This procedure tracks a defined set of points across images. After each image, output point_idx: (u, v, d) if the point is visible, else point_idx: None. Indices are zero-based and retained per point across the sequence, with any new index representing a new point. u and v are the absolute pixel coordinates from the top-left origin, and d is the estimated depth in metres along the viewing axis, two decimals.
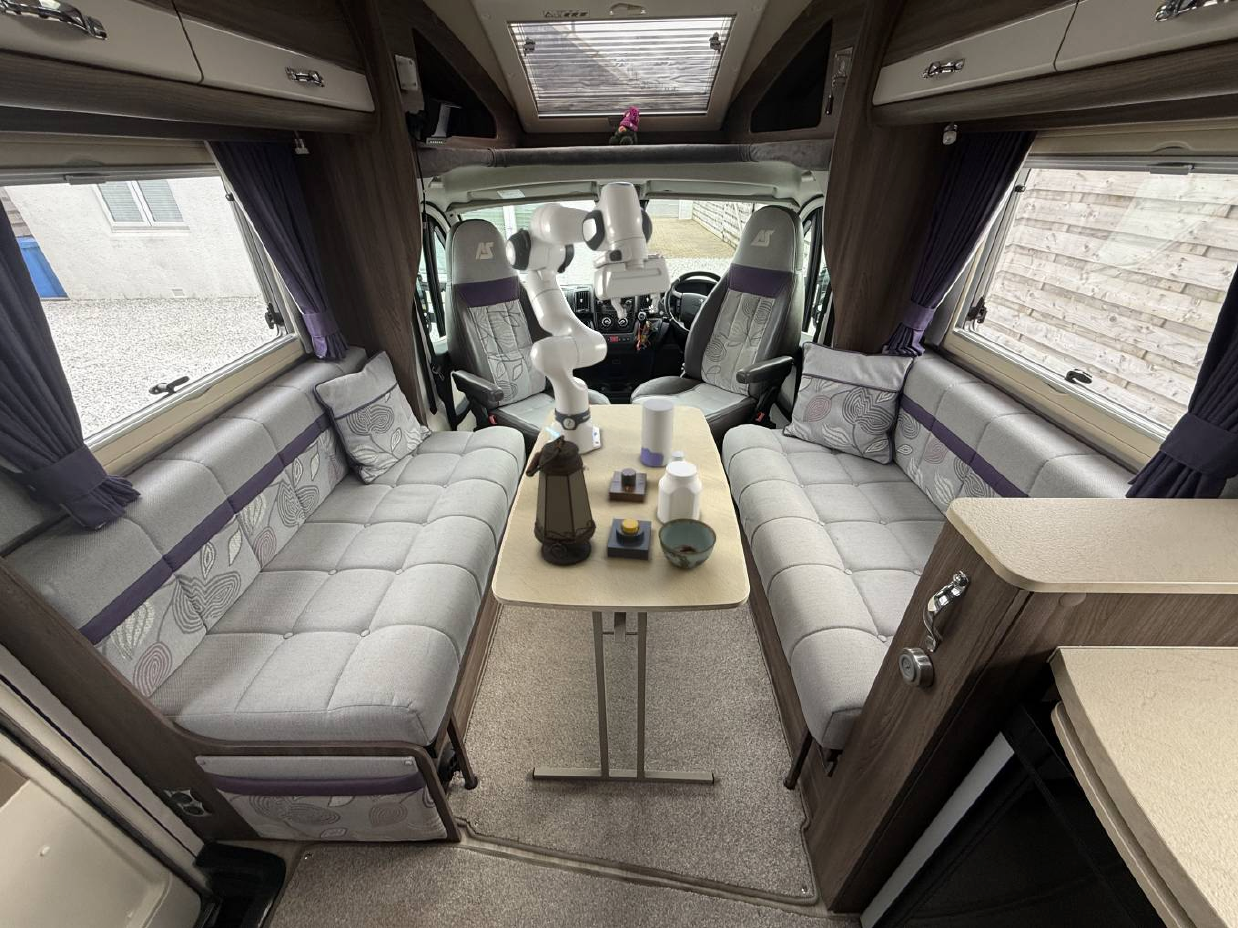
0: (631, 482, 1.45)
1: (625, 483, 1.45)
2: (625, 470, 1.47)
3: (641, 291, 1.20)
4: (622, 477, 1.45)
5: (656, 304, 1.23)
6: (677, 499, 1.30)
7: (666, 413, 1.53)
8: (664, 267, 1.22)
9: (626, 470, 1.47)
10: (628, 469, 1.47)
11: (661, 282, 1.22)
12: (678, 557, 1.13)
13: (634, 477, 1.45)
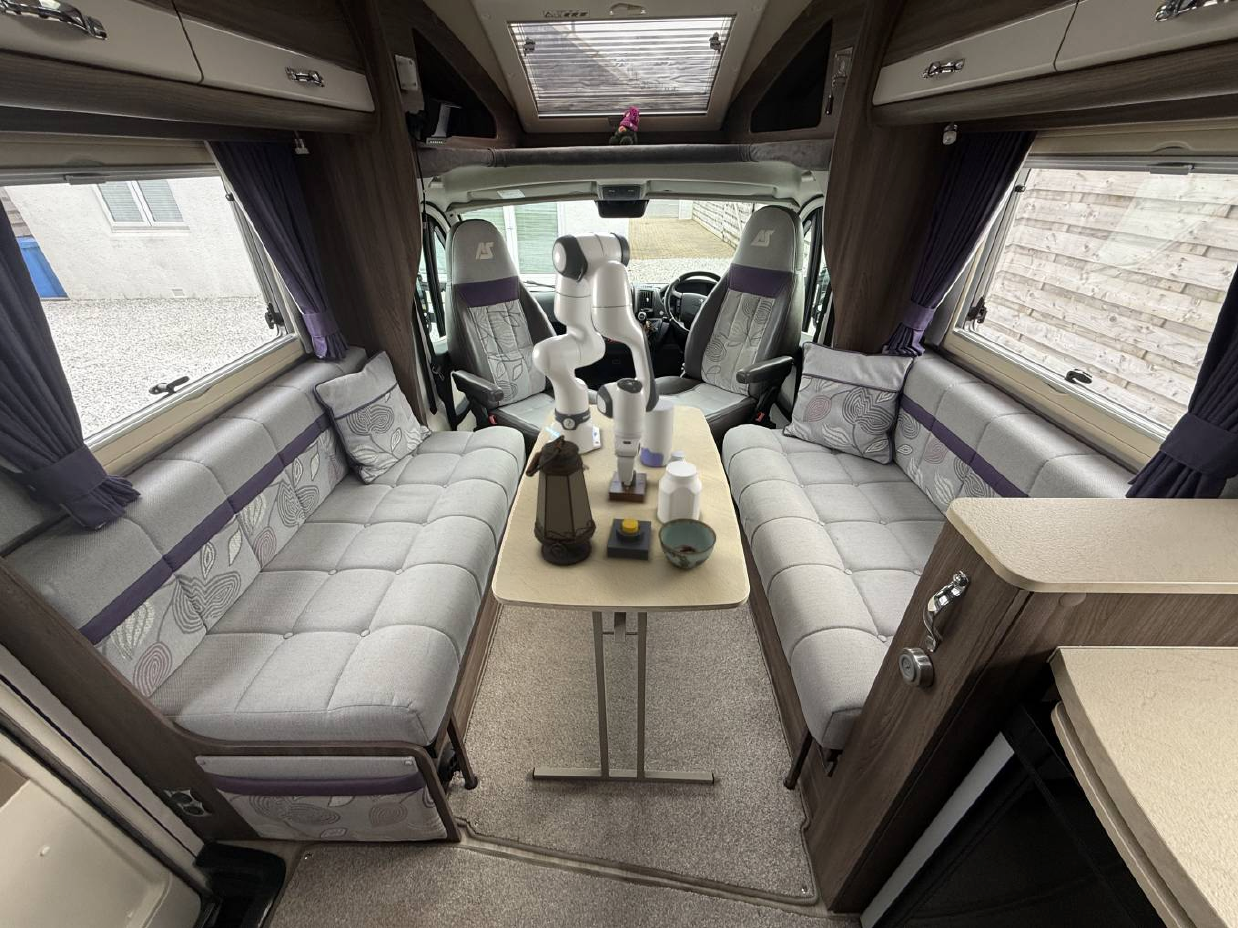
0: (631, 482, 1.45)
1: None
2: None
3: None
4: None
5: None
6: (677, 499, 1.30)
7: (666, 413, 1.53)
8: None
9: None
10: None
11: None
12: (678, 557, 1.13)
13: (634, 477, 1.45)
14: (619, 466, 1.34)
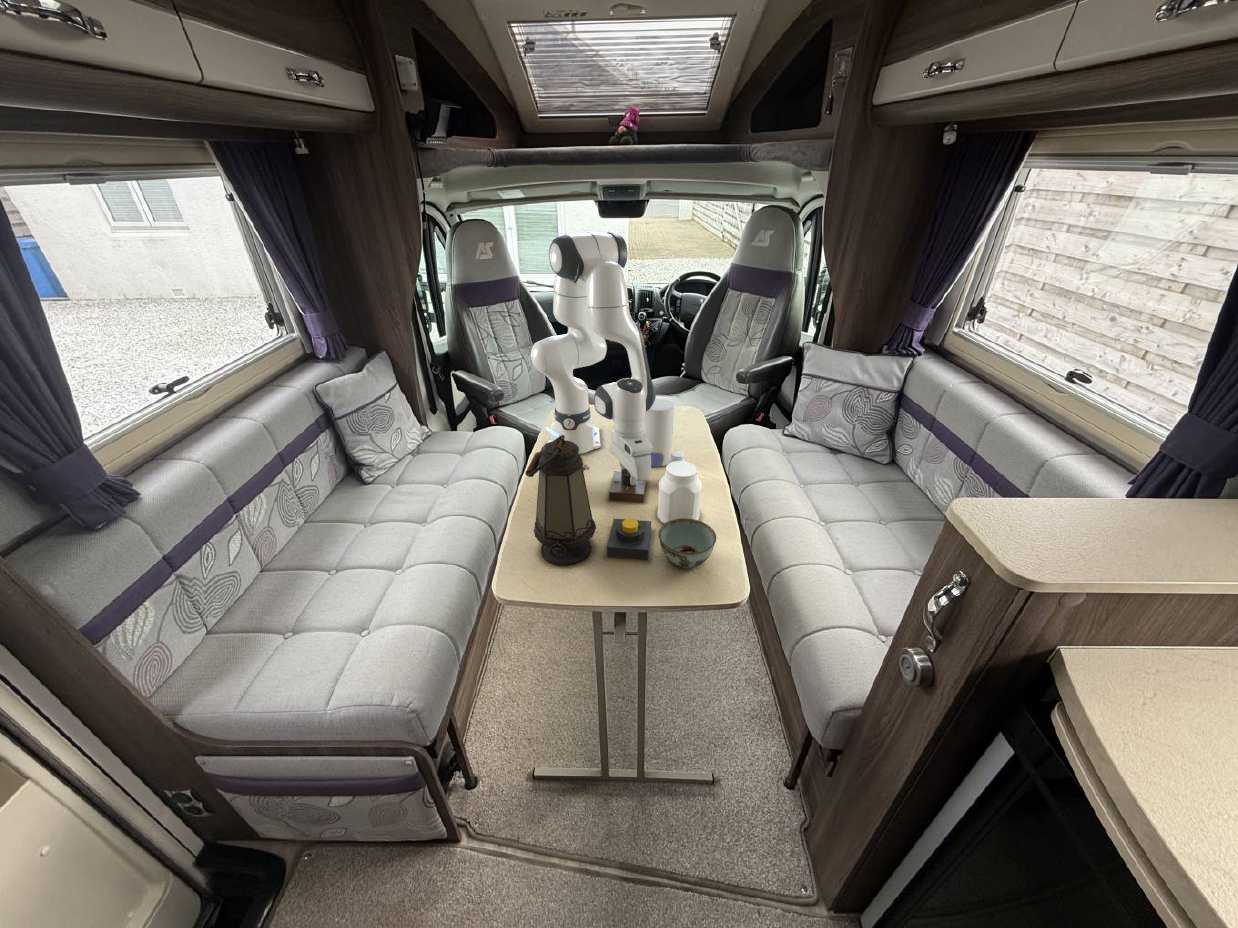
0: None
1: (629, 483, 1.45)
2: (624, 471, 1.46)
3: None
4: (625, 478, 1.45)
5: None
6: (677, 499, 1.30)
7: (666, 413, 1.53)
8: None
9: (625, 471, 1.46)
10: (626, 470, 1.47)
11: None
12: (678, 557, 1.13)
13: None
14: (638, 466, 1.34)
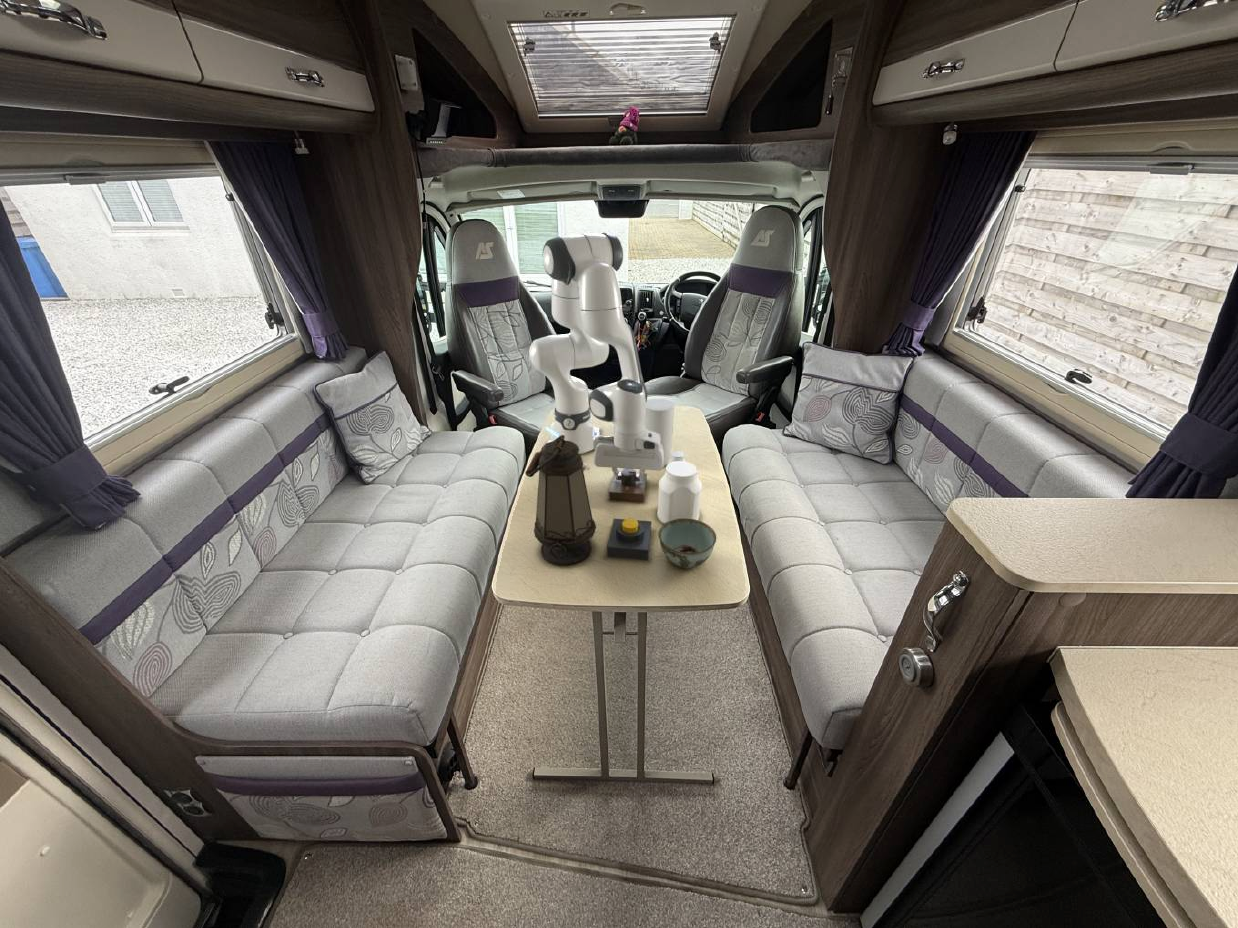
0: None
1: (635, 481, 1.46)
2: (625, 473, 1.45)
3: None
4: (632, 478, 1.45)
5: None
6: (677, 499, 1.30)
7: (666, 413, 1.53)
8: None
9: (625, 472, 1.45)
10: (624, 471, 1.46)
11: None
12: (678, 557, 1.13)
13: None
14: (662, 455, 1.40)
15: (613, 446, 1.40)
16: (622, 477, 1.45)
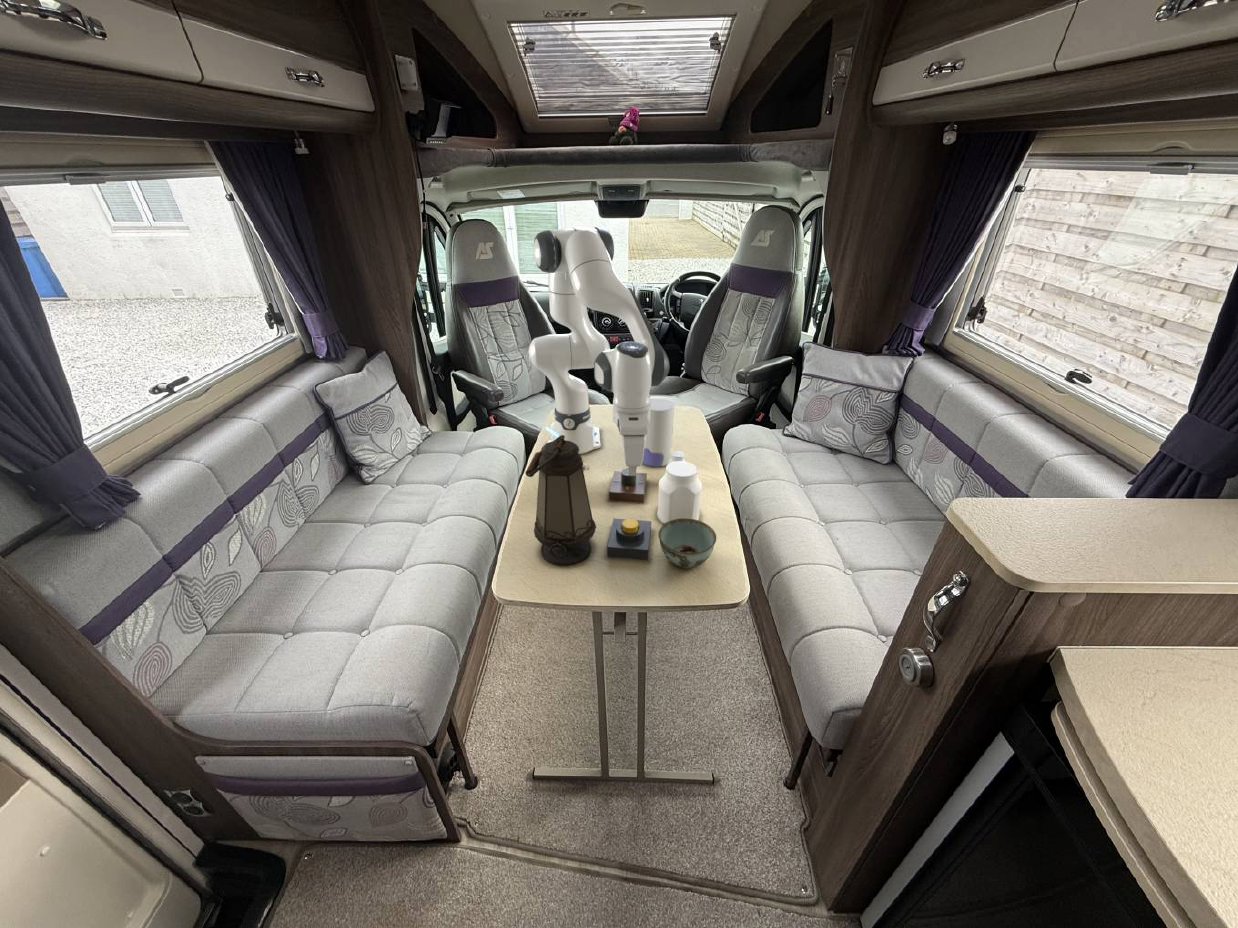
0: None
1: (635, 481, 1.46)
2: (625, 473, 1.45)
3: None
4: (632, 478, 1.45)
5: None
6: (677, 499, 1.30)
7: (666, 413, 1.53)
8: None
9: (625, 472, 1.45)
10: (624, 471, 1.46)
11: None
12: (678, 557, 1.13)
13: None
14: (627, 448, 1.11)
15: None
16: (622, 477, 1.45)
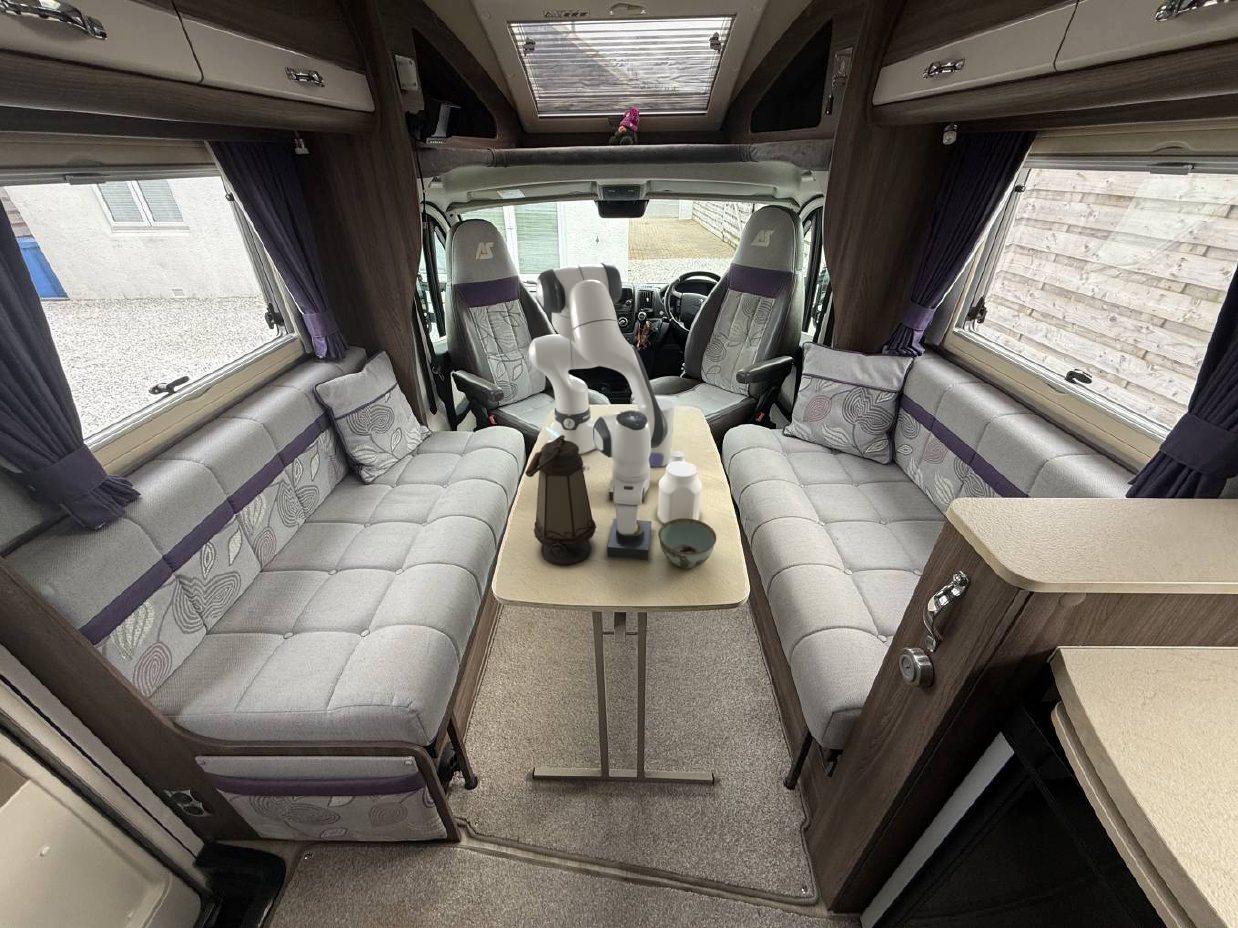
0: None
1: None
2: None
3: None
4: None
5: None
6: (677, 499, 1.30)
7: (666, 413, 1.53)
8: None
9: None
10: None
11: None
12: (678, 557, 1.13)
13: None
14: (619, 516, 1.11)
15: None
16: None
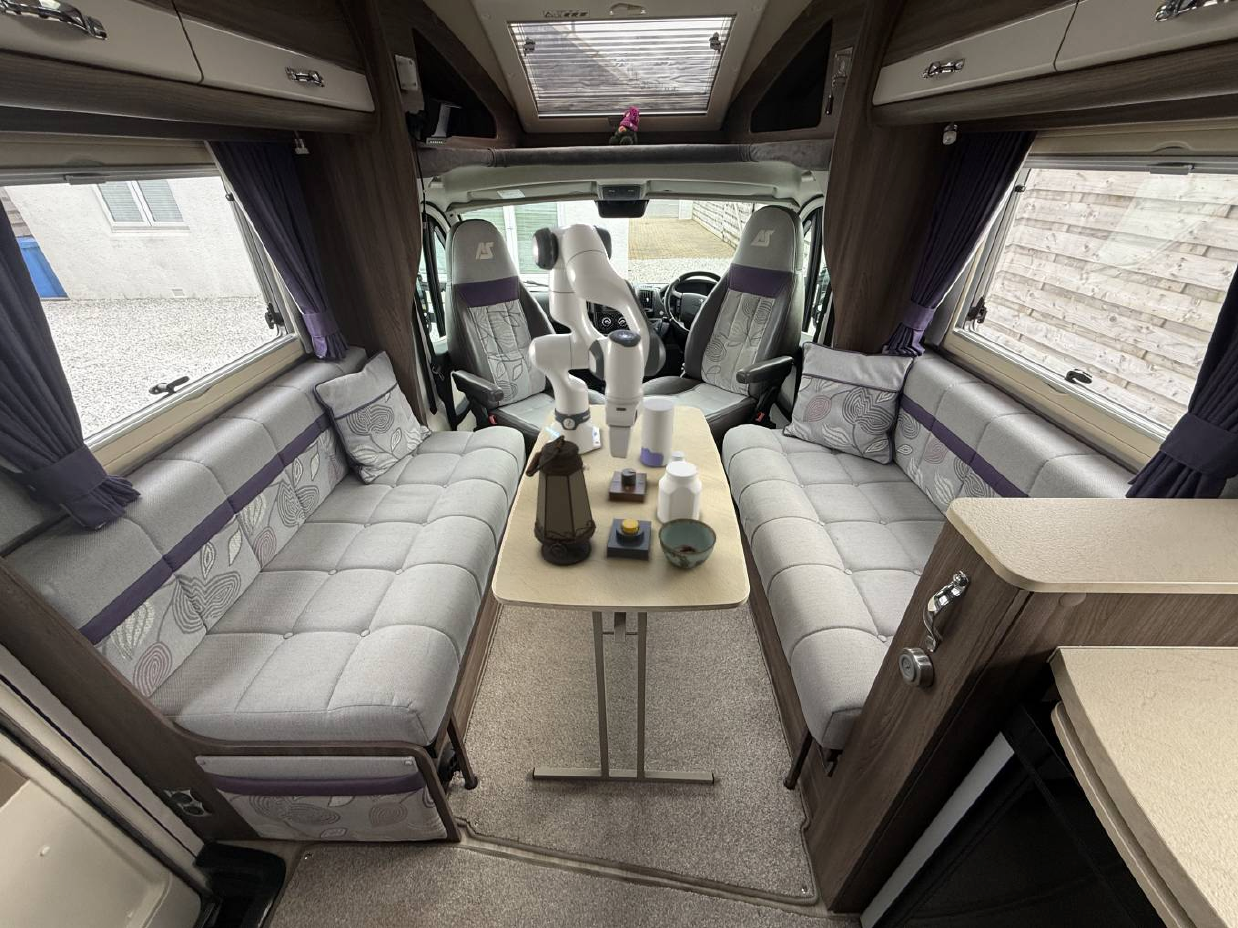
0: None
1: (635, 481, 1.46)
2: (625, 473, 1.45)
3: None
4: (632, 478, 1.45)
5: None
6: (677, 499, 1.30)
7: (666, 413, 1.53)
8: None
9: (625, 472, 1.45)
10: (624, 471, 1.46)
11: None
12: (678, 557, 1.13)
13: None
14: (611, 438, 1.09)
15: None
16: (622, 477, 1.45)
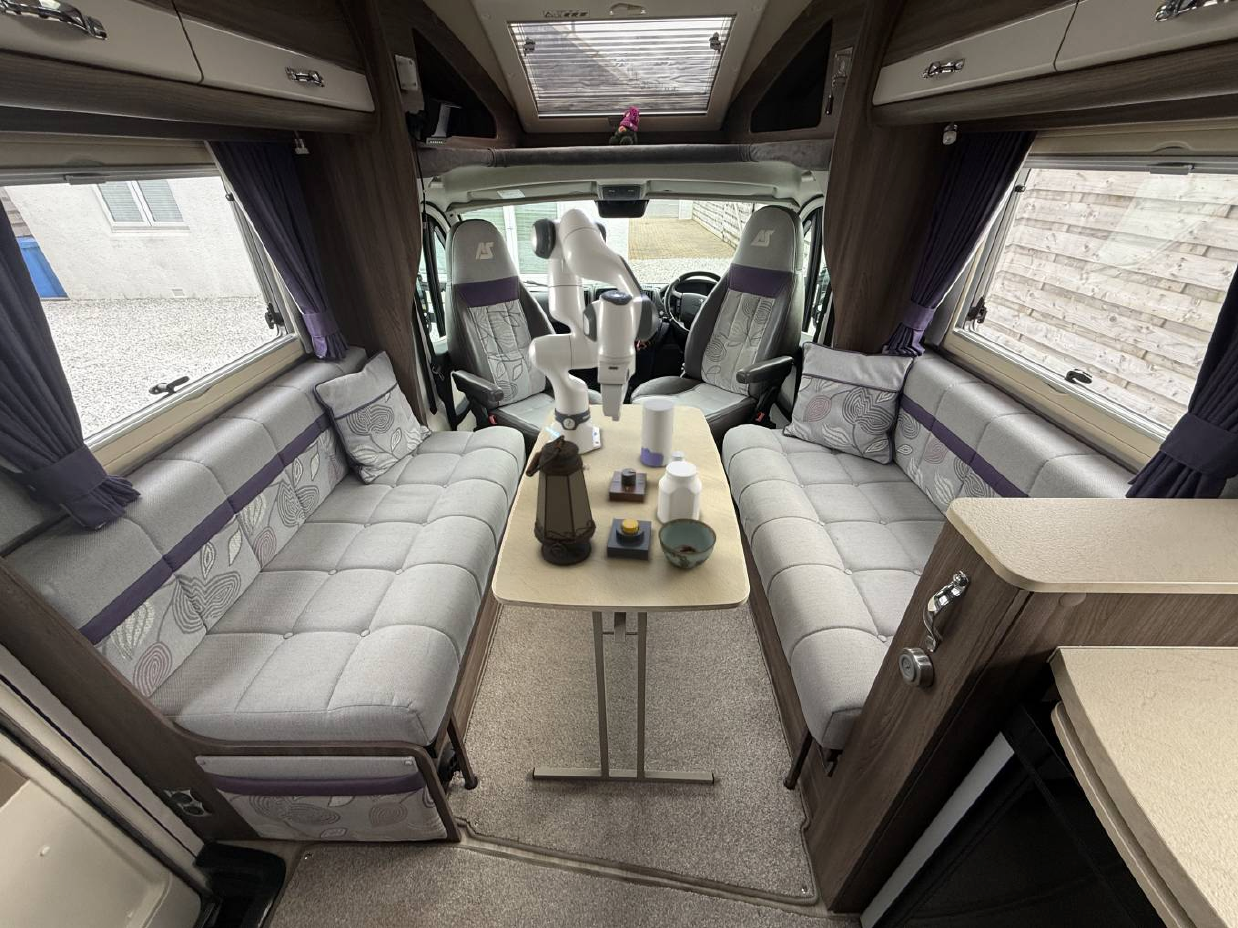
0: None
1: (635, 481, 1.46)
2: (625, 473, 1.45)
3: None
4: (632, 478, 1.45)
5: (620, 410, 1.24)
6: (677, 499, 1.30)
7: (666, 413, 1.53)
8: None
9: (625, 472, 1.45)
10: (624, 471, 1.46)
11: None
12: (678, 557, 1.13)
13: None
14: (604, 396, 1.11)
15: None
16: (622, 477, 1.45)
